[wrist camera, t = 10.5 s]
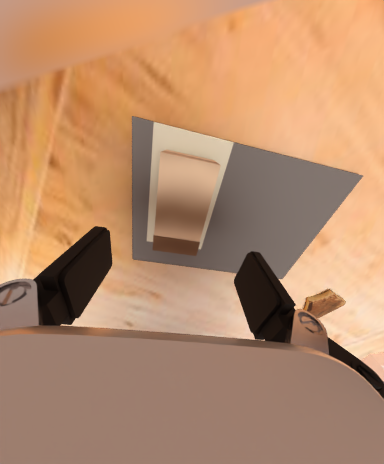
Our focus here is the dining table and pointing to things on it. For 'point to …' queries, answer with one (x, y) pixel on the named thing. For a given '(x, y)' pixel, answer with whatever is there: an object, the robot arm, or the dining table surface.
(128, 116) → the dining table surface
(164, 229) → the tan tapered block
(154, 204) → the mat
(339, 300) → the shard
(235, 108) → the dining table surface
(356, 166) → the dining table surface
